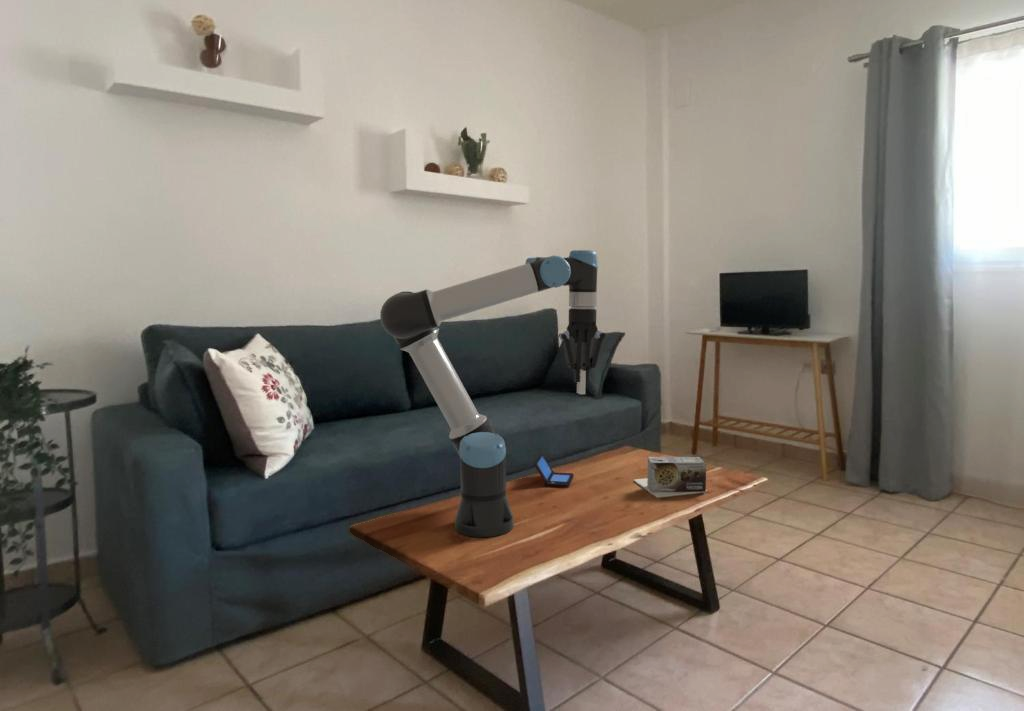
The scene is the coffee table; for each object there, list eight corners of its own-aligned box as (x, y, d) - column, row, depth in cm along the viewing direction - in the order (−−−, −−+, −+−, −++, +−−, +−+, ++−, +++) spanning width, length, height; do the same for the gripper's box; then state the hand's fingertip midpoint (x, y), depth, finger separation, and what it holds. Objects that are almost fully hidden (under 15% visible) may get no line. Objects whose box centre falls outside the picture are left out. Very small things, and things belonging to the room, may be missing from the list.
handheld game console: (568, 488, 202) (568, 465, 201) (533, 486, 204) (533, 463, 203) (574, 476, 214) (574, 453, 213) (541, 474, 216) (541, 452, 215)
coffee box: (646, 485, 201) (701, 485, 201) (650, 492, 195) (706, 492, 194) (647, 455, 200) (701, 456, 199) (651, 462, 194) (707, 462, 193)
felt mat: (656, 497, 192) (656, 495, 192) (633, 481, 207) (633, 479, 207) (707, 492, 196) (707, 490, 195) (680, 476, 211) (680, 474, 211)
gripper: (599, 306, 187) (597, 390, 189) (555, 307, 183) (554, 392, 186) (610, 308, 179) (608, 394, 182) (564, 308, 176) (563, 396, 179)
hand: (581, 393), depth 184 cm, fingers closed
